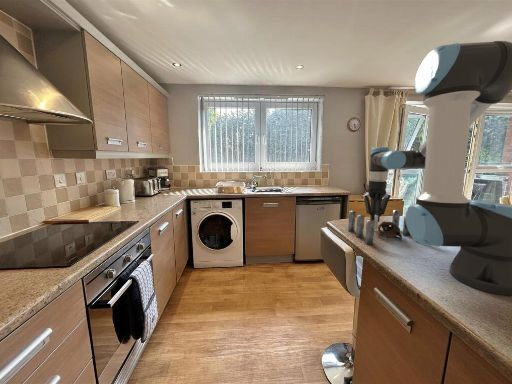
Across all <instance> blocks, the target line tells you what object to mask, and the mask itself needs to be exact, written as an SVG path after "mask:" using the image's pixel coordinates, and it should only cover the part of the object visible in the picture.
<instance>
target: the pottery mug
mask: <svg viewBox="0 0 512 384" xmlns="http://www.w3.org/2000/svg"><path fill="white" fill-rule="evenodd" d="M376 235H377V237H378V238H380V237H383V238H389V237H399V238H400V239H401V240H402V239H403V234H402V233H401V228H400V226H399V227H398V226H397V225H396V224H395V223H393V222H392V221H382V222H381V223H379V224H378V226H377V234H376Z"/></svg>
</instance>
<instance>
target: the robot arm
mask: <svg viewBox="0 0 512 384" xmlns="http://www.w3.org/2000/svg"><path fill="white" fill-rule="evenodd" d="M417 69H418V70H417V72H416V74H415V79H414V85H413V86H414V87H413V88H414V90H415V93H416V94H417V95H420V96H423V98H422V99H423V101H422V104H423V105H424V106H425V107H427V109H428V123H427V134H426V135H427V136H426V139H425V140H424V142H423V143H422V144H421V145H420V146H419V148H418V149H415V150H398V149H397V150H396V149H395V150H390V147H388V146H375V147H372V148H371V150H370V153H369V160H370V161H369V174H368V175H369V176H368V179H369V180H368V185H367V186H368V190H367V192H366V193H365V194H362V196H361V197H362V198H363V199H364V205H365V206H364V207H365V212H366V214H368V215H369V216H370V217H369V220H374V221H375V226H374V230H378V226H379V222H380V217H382V215H384V214H385V213H386V209H387V207H388V203H389V200H390V198H391V197H392V195H391V194H388V193H387V185H388V182H387V180H388V172H389V170H401V169H403V170H406V169H407V170H409V169H410V170H411V169H412V170H414V169H415V170H420V169H421V170H424V172H423V173H424V174H423V176H424V177H423V187H422V189H423V190H422V193H420V194H419V195H418V196H416V198H415V204H411V205H410V206H408V207H407V209H406V212H405V214H406V216H405V219H406V225H407V228H408V231H409V232H410V234H411V236H410V237H412V239H413V240H415V242H416V241H417V242H418V243H417V242H416V243H417V244H420V245H424V246H432V247H433V246H434V247H436V248H437V247H438V248H439V247H456V248H457V247H460V248H459V250H458V252H457V254H456V255H455V257H454V259H453V260H452V261H451V263H450V265H449V274H450V275H451V276H452V277H453V278H454V279H456V281H458V282H461V283H463V284H465V285H467V286H469V287H472V288H474V289H477V290H480V291H484V292H487V293H492V294H495V295H496V294H497V295H501V296H510V297H512V205H511V204H505V203H501V202H500V203H499V202H493V201H488V200H480V199H468V198H467V197H466V196H464V194H463V193H464V181H465V172H466V162H467V153H468V151H467V150H468V142H469V141H468V139H469V132H470V126H472V125H473V124H474V123H475V122H476V121H477V120H478V119H479V118H480V117H481V116H482V115H483V114H484V113H485V112H486V111H487V110H488V109H489V108H490V107H492V105H497V104H500V103H501V102H502V100H504V99H505V98H506V97H507V96H508V95H509V94H510V93H511V92H512V41H507V40H493V41H483V42H482V41H481V42H467V43H466V42H464V43H458V42H454V43H450V44H443V45H439V46H437V47H435V48H434V49H433V50H431V51H430V52H429V53H428V54H427V55H426V56H425V58H423V60H422V62H421V64H420V65H419V67H418V68H417Z"/></svg>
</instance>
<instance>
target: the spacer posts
mask: <svg viewBox="0 0 512 384" xmlns="http://www.w3.org/2000/svg"><path fill="white" fill-rule="evenodd" d="M356 215H357V216H356ZM403 216H404V217H403V227H402V228H403V229H402V237H408V238H410V237H412V236H411V234H410V232H409V231H408V228H407V225H406V219H405V216H406V213H404V215H403ZM400 220H401V210H400V209H393V210H392V218H391V222H393V223H395V224H396V225H397V226H398V227H399V228H400ZM347 224H348V226H347V231H348V232H350V233H354V232H355V237H356V238H358V239H362V238H363V239H364V232H365V240H364V241H365V242H364V244H365V245H368V246H373V245H374V239H375V238H374V236H375V229H374V226H375V221H374V220H370V219H366V225H365V215H364V214H356V210H348V223H347ZM365 226H366V227H365ZM355 227H356V228H355ZM364 229H365V231H364ZM415 243H417V244H419V243H418V242H417V241H416V240H415Z"/></svg>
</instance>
